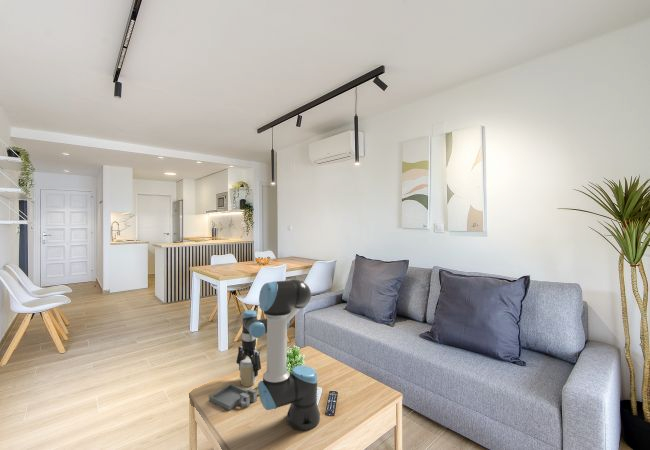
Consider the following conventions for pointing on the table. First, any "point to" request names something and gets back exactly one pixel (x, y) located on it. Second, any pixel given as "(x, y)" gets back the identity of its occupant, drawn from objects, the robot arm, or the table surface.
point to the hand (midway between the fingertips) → (248, 378)
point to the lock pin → (252, 393)
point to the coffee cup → (246, 372)
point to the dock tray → (233, 397)
